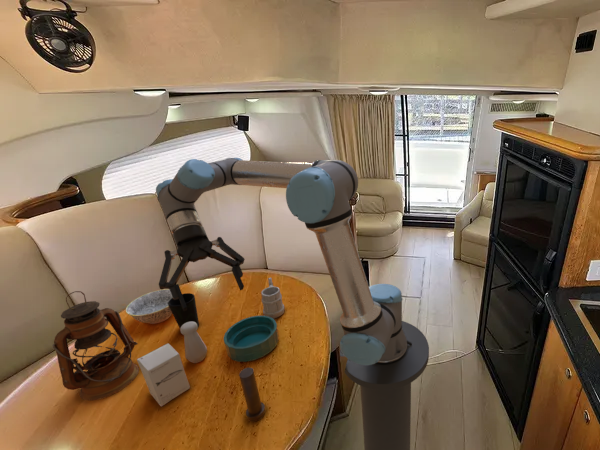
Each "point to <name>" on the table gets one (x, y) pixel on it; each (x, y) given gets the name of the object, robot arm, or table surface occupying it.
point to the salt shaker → (193, 343)
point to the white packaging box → (164, 373)
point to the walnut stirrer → (251, 395)
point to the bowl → (151, 307)
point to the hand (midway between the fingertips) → (215, 298)
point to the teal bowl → (251, 338)
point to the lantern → (102, 367)
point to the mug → (272, 301)
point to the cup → (182, 315)
